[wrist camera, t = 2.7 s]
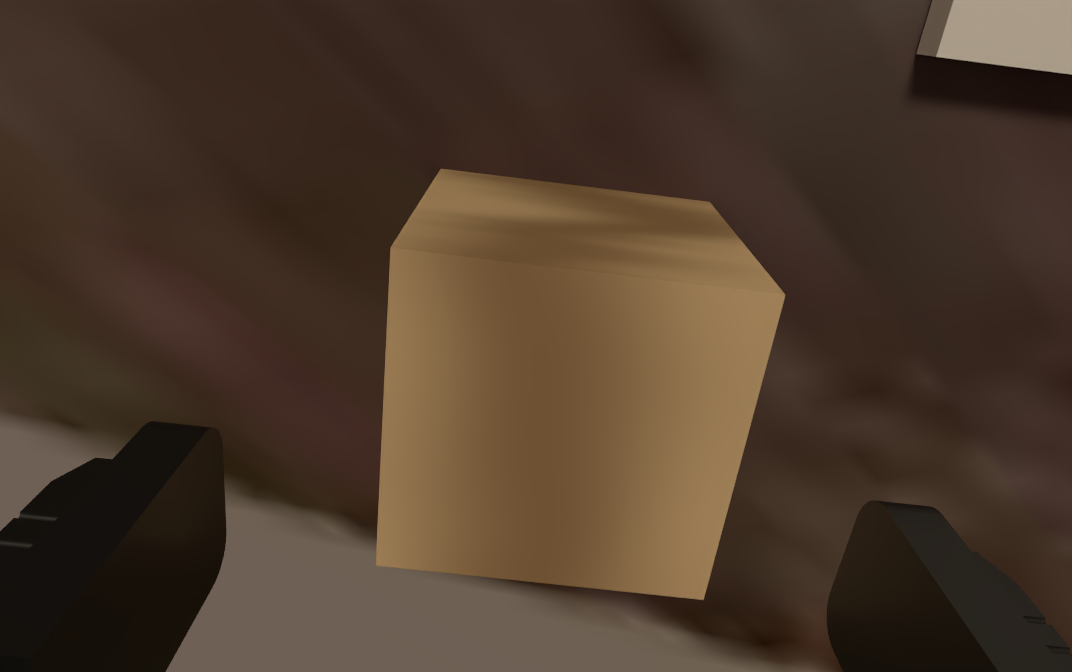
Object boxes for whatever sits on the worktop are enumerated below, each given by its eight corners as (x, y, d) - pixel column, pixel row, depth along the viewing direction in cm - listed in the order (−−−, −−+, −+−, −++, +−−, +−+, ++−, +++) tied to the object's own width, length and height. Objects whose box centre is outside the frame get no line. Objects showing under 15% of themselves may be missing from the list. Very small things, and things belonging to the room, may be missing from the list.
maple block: (708, 201, 16) (785, 294, 11) (659, 431, 18) (704, 599, 13) (441, 168, 16) (391, 248, 10) (424, 405, 18) (376, 565, 13)
